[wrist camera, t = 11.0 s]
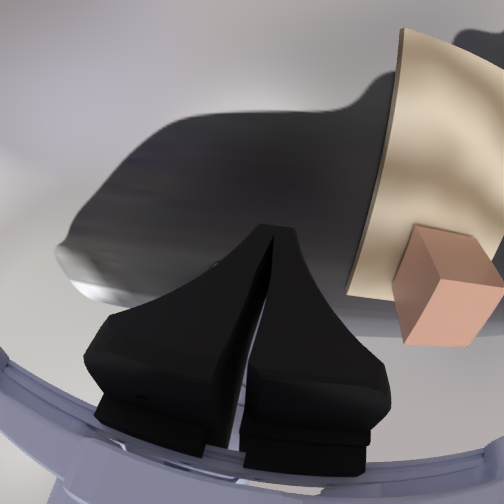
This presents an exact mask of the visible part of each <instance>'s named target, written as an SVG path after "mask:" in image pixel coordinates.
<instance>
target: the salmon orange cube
mask: <svg viewBox="0 0 504 504" xmlns="http://www.w3.org/2000/svg"><path fill="white" fill-rule="evenodd" d="M391 288H392V292H393V296H394V300H395V305H396V309H397V314H398V318H399V323H400V328H401V333H402V338H403V344H411V345H428V346H452V347H467V346H468V345H469V344H470V343H471V341H472V340H473V339H474V337H475V336H476V335H477V333H478V332H479V331H480V329H481V328H482V327H483V325H484V324H485V322H486V321H487V319H488V318H489V317H490V315H491V314H492V312H493V311H494V309H495V308H496V306H497V304H498V303H499V301H500V300H501V298H502V297H503V295H504V282H503V280H502V278H501V276H500V275H499V273H498V271H497V270H496V268H495V267H494V265H493V263H492V262H491V260H490V259H489V257H488V256H487V254H486V252H485V251H484V249H483V248H482V246H481V245H480V243H479V242H478V241H477V239H476V238H472V237H468V236H463V235H459V234H454V233H450V232H445V231H440V230H436V229H431V228H426V227H421V226H416V225H415V228H414V231H413V234H412V236H411V239H410V242H409V245H408V247H407V250H406V252H405V255H404V258H403V260H402V263H401V265H400V268H399V270H398V272H397V275H396V277H395V280H394V282H393V284H392V287H391Z"/></svg>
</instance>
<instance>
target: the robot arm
mask: <svg viewBox="0 0 504 504" xmlns="http://www.w3.org/2000/svg"><path fill="white" fill-rule="evenodd" d="M83 357H84V363H85V366H86V367H87V370H88V372H89V373H90V375H91V376H92V377H93V379H94V380H95V382H96V383H97V384H98V386H99V387H100V389H101V390H102V391H103V393H104V394H103V396H102V399H101V400H100V403H99V405H98V407H96V406H93V405H91V404H89V403H87V402H84V401H83V400H80V399H78V398H76V397H74V396H72V395H70V394H68V393H66V392H64V391H62V390H60V389H59V388H57V387H55V386H53V385H51V384H49V383H48V382H46V381H44V380H42V379H41V378H39V377H37V376H35V375H34V374H32V373H30V372H29V371H27V370H26V369H24V368H22V367H20V366H19V365H18V364H16V363H15V362H13V361H11V360H10V359H9V357H8V356H7V354H6V353H5V352H4V350H3V349H2V348H1V347H0V432H1V433H3V435H4V436H6V437H7V438H8V439H9V440H10V441H11V442H12V443H14V444H15V445H16V446H17V447H18V448H20V449H21V450H22V451H23V452H24V453H25V454H27V455H28V456H29V457H31V458H32V459H33V460H34V461H36V462H37V463H38V464H40V465H41V466H42V467H44V468H45V469H47V470H48V471H49V472H51V473H52V474H54V475H55V476H57V479H56V482H55V484H54V487H53V489H52V492H51V494H50V497H49V500H48V502H47V504H504V436H503V437H500V438H498V439H496V440H494V441H492V442H491V443H490V444H488V445H487V446H485V448H482V449H477V450H473V451H468V452H463V453H458V454H453V455H447V456H440V457H434V458H426V459H417V460H406V461H395V462H394V461H393V462H370V463H369V462H368V463H366V446H369V445H370V442H371V429H372V428H374V427H375V426H376V425H377V424H378V423H379V422H380V421H381V420H382V419H383V418H384V417H385V416H386V415H387V414H388V412H389V411H390V409H391V392H390V386H389V382H388V377H387V374H386V369H385V366H384V364H383V363H382V362H381V361H380V360H379V359H378V358H377V357H375V356H374V355H373V354H372V353H371V352H370V351H369V350H368V349H367V348H366V347H364V346H363V345H362V344H361V343H360V342H359V341H358V340H357V339H356V338H355V336H354V335H353V334H352V333H351V332H350V331H349V330H348V329H347V328H346V326H345V325H344V324H343V323H342V321H341V320H340V319H339V318H338V316H337V315H336V314H335V313H334V311H333V310H332V308H331V307H330V306H329V304H328V303H327V301H326V300H325V298H324V297H323V295H322V293H321V292H320V290H319V288H318V287H317V285H316V283H315V281H314V279H313V277H312V275H311V273H310V271H309V269H308V267H307V265H306V262H305V260H304V257H303V255H302V252H301V249H300V246H299V243H298V239H297V234H296V231H295V229H294V228H288V227H281V226H274V225H266V224H259V225H257V226H256V227H255V228H254V229H253V231H252V232H251V233H250V234H249V235H248V236H247V237H246V238H245V239H244V240H243V241H242V242H241V243H240V244H239V245H238V246H237V247H236V248H235V249H234V250H233V251H232V252H230V253H229V254H228V255H227V256H226V257H224V258H223V259H222V260H221V261H220V262H218V263H216V264H215V265H214V266H213V267H212V268H211V269H209V270H208V271H206V272H205V273H204V274H202V275H201V276H199V277H198V278H196V279H194V280H193V281H191V282H189V283H187V284H186V285H184V286H182V287H180V288H178V289H176V290H175V291H173V292H171V293H168V294H166V295H164V296H162V297H160V298H157V299H155V300H153V301H150V302H148V303H145V304H143V305H140V306H137V307H134V308H131V309H128V310H125V311H122V312H119V313H116V314H112V315H109V317H108V318H107V319H106V321H105V322H104V323H103V325H102V326H101V327H100V329H99V331H98V332H97V334H96V336H95V338H94V339H93V340H92V342H91V344H90V345H89V347H88V349H87V350H86V353H85V354H84V356H83ZM110 439H112V440H113V441H112V440H110ZM250 480H252V481H258V482H265V483H272V484H281V485H292V486H303V487H321V488H324V489H323V490H322V491H321V494H319V495H315V496H311V495H302V494H294V493H287V492H283V491H277V490H271V489H264V488H259V487H254V486H248V485H247V484H248V482H249V481H250Z"/></svg>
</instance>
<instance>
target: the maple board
mask: <svg viewBox="0 0 504 504" xmlns="http://www.w3.org/2000/svg"><path fill="white" fill-rule="evenodd" d="M415 225H416V226H421V227H426V228H431V229H436V230H440V231H445V232H450V233H454V234H459V235H463V236H468V237H472V238H476V239H477V241H478V242H479V243H480V245H481V246H482V248H483V249H484V251H485V252H486V254H487V256H488V257H489V259H490V260H492V258H493V256H494V254H495V252H496V250H497V248H498V246H499V244H500V242H501V240H502V238H503V235H504V70H503V69H501V68H499V67H497V66H496V65H494V64H492V63H490V62H488V61H486V60H484V59H482V58H480V57H478V56H476V55H474V54H472V53H470V52H468V51H465V50H463V49H461V48H459V47H456V46H454V45H452V44H449V43H447V42H444V41H442V40H439V39H436V38H433V37H431V36H428V35H425V34H423V33H419V32H417V31H414V30H410V29H407V28H403V29H400V35H399V46H398V57H397V66H396V74H395V82H394V89H393V96H392V102H391V109H390V115H389V120H388V126H387V132H386V137H385V142H384V147H383V152H382V157H381V161H380V166H379V171H378V175H377V179H376V184H375V188H374V192H373V196H372V200H371V204H370V208H369V212H368V215H367V219H366V223H365V226H364V230H363V234H362V237H361V240H360V244H359V247H358V251H357V254H356V257H355V261H354V264H353V267H352V270H351V273H350V276H349V279H348V282H347V285H346V291H347V295H352V296H359V297H367V298H375V299H382V300H391V301H395V300H394V296H393V292H392V288H391V287H392V284H393V282H394V280H395V277H396V275H397V272H398V270H399V268H400V265H401V263H402V260H403V258H404V255H405V252H406V250H407V247H408V245H409V242H410V239H411V236H412V234H413V231H414V228H415Z"/></svg>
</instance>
